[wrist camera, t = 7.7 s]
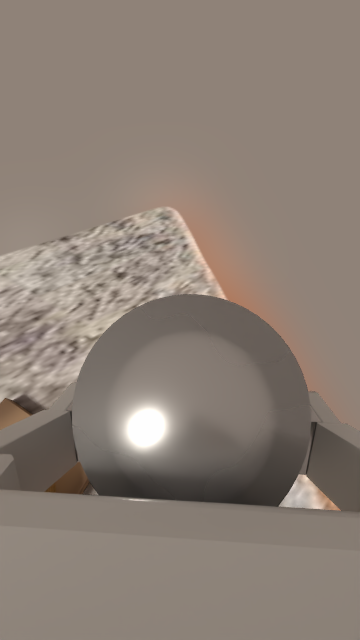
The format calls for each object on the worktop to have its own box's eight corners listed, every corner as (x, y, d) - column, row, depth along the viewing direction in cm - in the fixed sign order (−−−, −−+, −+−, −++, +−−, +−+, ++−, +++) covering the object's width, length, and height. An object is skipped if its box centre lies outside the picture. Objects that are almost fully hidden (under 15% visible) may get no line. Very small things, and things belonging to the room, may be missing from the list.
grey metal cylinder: (254, 412, 14) (349, 341, 6) (214, 513, 12) (268, 642, 4) (171, 370, 15) (146, 259, 7) (123, 456, 14) (5, 453, 5)
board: (101, 462, 26) (97, 462, 25) (9, 613, 21) (0, 621, 20) (12, 400, 29) (5, 397, 28) (-85, 520, 24) (-98, 522, 23)
